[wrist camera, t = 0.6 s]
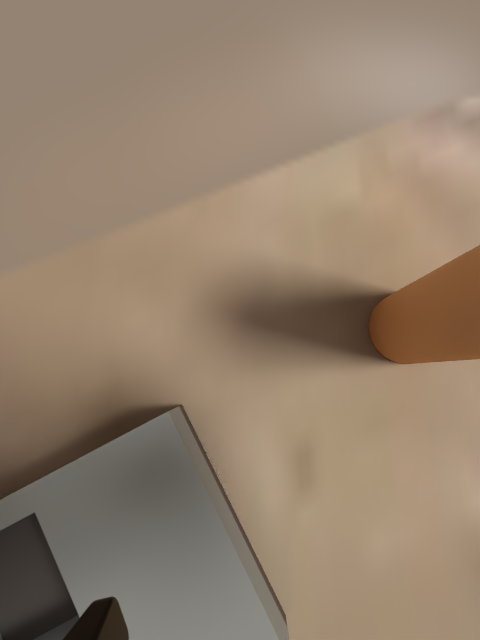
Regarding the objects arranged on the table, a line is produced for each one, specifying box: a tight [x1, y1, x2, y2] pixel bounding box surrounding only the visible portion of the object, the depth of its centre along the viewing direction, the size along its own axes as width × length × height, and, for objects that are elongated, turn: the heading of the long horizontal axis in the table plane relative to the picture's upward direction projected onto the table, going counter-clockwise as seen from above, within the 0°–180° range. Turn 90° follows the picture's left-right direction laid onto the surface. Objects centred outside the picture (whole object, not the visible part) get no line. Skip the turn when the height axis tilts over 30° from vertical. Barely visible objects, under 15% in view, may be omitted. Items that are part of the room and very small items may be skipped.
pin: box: [369, 245, 480, 364], centre depth 16 cm, size 4×4×13 cm
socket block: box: [0, 405, 289, 640], centre depth 19 cm, size 12×14×4 cm
